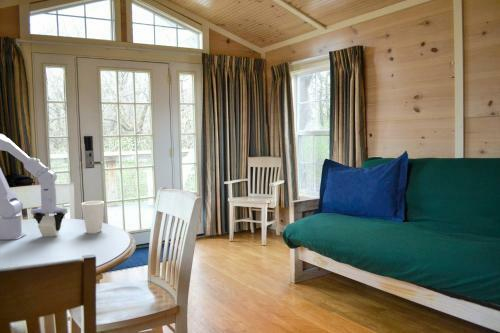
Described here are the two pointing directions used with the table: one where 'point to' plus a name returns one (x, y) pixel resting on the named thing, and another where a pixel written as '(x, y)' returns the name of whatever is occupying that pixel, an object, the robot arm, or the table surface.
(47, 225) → the white cubic block
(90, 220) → the foam cup
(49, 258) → the table surface
